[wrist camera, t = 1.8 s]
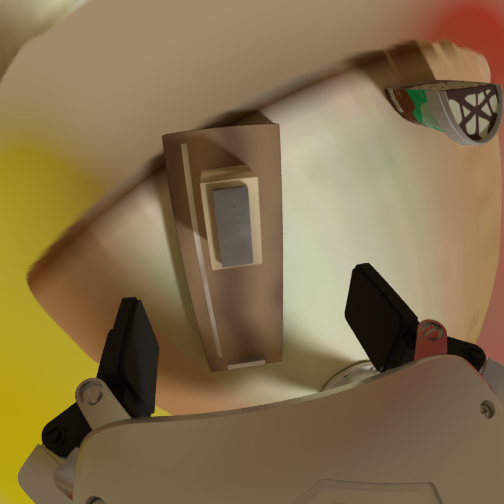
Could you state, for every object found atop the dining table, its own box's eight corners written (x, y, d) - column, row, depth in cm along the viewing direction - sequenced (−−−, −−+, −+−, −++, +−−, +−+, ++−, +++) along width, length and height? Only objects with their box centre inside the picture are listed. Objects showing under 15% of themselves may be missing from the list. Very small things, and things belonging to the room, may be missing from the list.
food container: (388, 143, 26) (452, 163, 17) (374, 90, 23) (441, 91, 14) (452, 123, 25) (510, 138, 16) (442, 79, 22) (503, 84, 13)
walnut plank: (273, 123, 23) (281, 124, 21) (278, 350, 38) (283, 365, 35) (165, 134, 22) (160, 136, 20) (210, 361, 37) (211, 376, 34)
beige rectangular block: (247, 164, 23) (259, 178, 18) (252, 237, 26) (263, 267, 21) (201, 170, 22) (199, 185, 18) (210, 242, 26) (212, 274, 21)
